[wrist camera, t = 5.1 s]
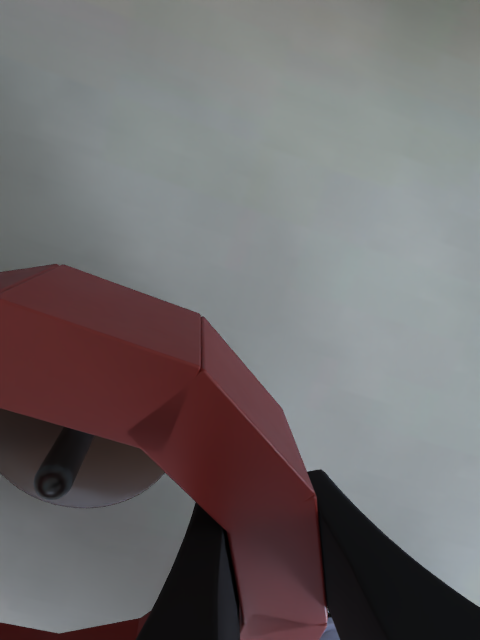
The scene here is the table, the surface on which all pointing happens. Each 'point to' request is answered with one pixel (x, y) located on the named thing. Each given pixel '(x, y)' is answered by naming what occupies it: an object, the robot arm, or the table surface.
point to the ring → (170, 431)
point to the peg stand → (71, 464)
